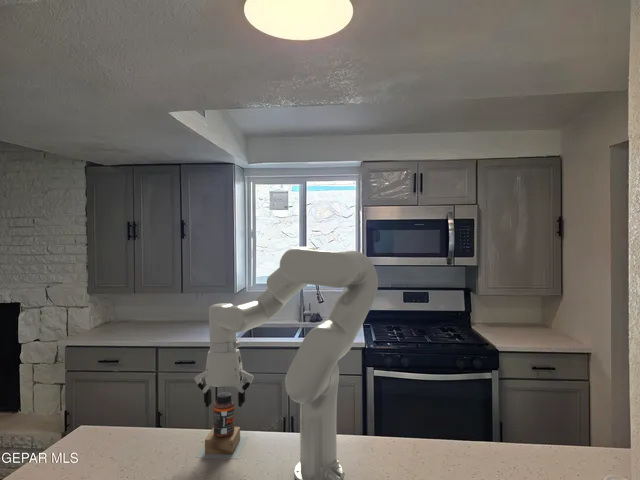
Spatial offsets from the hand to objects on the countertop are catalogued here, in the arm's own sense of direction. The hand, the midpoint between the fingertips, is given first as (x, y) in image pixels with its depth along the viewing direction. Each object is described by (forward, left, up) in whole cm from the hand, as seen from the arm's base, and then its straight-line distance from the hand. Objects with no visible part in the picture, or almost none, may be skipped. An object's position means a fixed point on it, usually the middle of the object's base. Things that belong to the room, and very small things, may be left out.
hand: (224, 405), depth 115 cm
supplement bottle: (0, 0, -9) cm, 9 cm away
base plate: (+1, 0, -13) cm, 13 cm away
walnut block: (+1, 0, -12) cm, 12 cm away
